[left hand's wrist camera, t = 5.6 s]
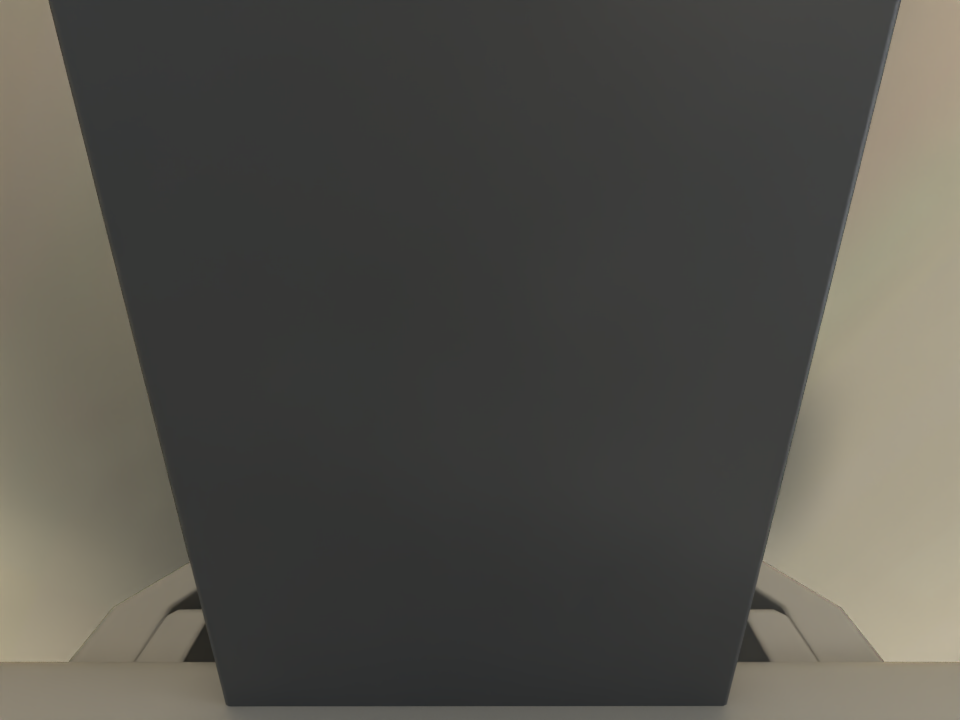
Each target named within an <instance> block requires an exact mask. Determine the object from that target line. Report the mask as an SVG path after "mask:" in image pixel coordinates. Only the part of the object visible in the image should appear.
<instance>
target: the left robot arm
mask: <svg viewBox="0 0 960 720" xmlns="http://www.w3.org/2000/svg"><path fill="white" fill-rule="evenodd" d="M0 720H960V662H884V661H883V659H882V658H881V657H880V656H879V654H878V653H877V652H876V651H875V649H874V648H873V647H872V646H871V644H870V643H869V642H868V641H867V639H866V638H865V637H864V636H863V634H862V633H861V632H860V631H859V629H858V628H857V627H856V626H855V624H854V623H853V622H852V620H851V619H850V618H849V617H848V615H847V614H846V613H845V612H844V610H843V609H842V608H841V607H839V606H837V605H836V604H834V603H832V602H831V601H829V600H827V599H826V598H824V597H822V596H821V595H819V594H817V593H816V592H814V591H812V590H810V589H809V588H807V587H805V586H804V585H802V584H800V583H799V582H797V581H795V580H794V579H792V578H790V577H789V576H787V575H785V574H784V573H782V572H780V571H779V570H777V569H775V568H774V567H772V566H770V565H768V564H767V563H765V562H763V561H762V564H761V568H760V572H759V576H758V580H757V584H756V588H755V592H754V596H753V600H752V604H751V608H750V612H749V616H748V620H747V624H746V628H745V633H744V637H743V641H742V645H741V649H740V653H739V657H738V661H737V665H736V669H735V673H734V677H733V681H732V685H731V689H730V693H729V697H728V701H727V704H726V705H724V706H232V707H230V706H227V705H226V703H225V699H224V695H223V691H222V687H221V684H220V680H219V676H218V672H217V668H216V664H215V660H214V656H213V652H212V648H211V644H210V640H209V636H208V632H207V628H206V624H205V620H204V616H203V612H202V608H201V604H200V600H199V596H198V592H197V588H196V584H195V580H194V576H193V572H192V568H191V564H190V562H189V563H187V564H186V565H184V566H182V567H181V568H179V569H177V570H176V571H174V572H172V573H170V574H169V575H167V576H165V577H164V578H162V579H160V580H159V581H157V582H155V583H153V584H152V585H150V586H148V587H147V588H145V589H143V590H142V591H140V592H138V593H136V594H135V595H133V596H131V597H130V598H128V599H126V600H125V601H123V602H121V603H119V604H118V605H116V606H114V607H113V608H112V609H111V610H110V612H109V613H108V614H107V615H106V617H105V618H104V619H103V620H102V621H101V623H100V624H99V625H98V626H97V628H96V629H95V630H94V631H93V633H92V634H91V635H90V636H89V637H88V639H87V640H86V641H85V642H84V644H83V645H82V646H81V647H80V648H79V650H78V651H77V652H76V653H75V655H74V656H73V657H72V658H71V660H70V661H69V662H0Z"/></svg>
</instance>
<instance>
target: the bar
mask: <svg viewBox="0 0 960 720" xmlns="http://www.w3.org/2000/svg"><path fill="white" fill-rule="evenodd" d="M900 2H901V0H49V4H50V8H51V12H52V16H53V20H54V24H55V28H56V32H57V36H58V40H59V44H60V48H61V52H62V56H63V60H64V64H65V68H66V72H67V76H68V80H69V84H70V88H71V92H72V96H73V100H74V104H75V108H76V112H77V115H78V119H79V123H80V127H81V131H82V135H83V139H84V143H85V147H86V151H87V155H88V159H89V163H90V167H91V171H92V175H93V179H94V183H95V187H96V191H97V195H98V199H99V203H100V207H101V211H102V215H103V219H104V223H105V227H106V231H107V235H108V239H109V243H110V247H111V251H112V255H113V258H114V262H115V266H116V270H117V274H118V278H119V282H120V286H121V290H122V294H123V298H124V302H125V306H126V310H127V314H128V318H129V322H130V326H131V330H132V334H133V338H134V342H135V346H136V350H137V354H138V358H139V362H140V366H141V370H142V374H143V378H144V382H145V386H146V390H147V394H148V398H149V401H150V405H151V409H152V413H153V417H154V421H155V425H156V429H157V433H158V437H159V441H160V445H161V449H162V453H163V457H164V461H165V465H166V469H167V473H168V477H169V481H170V485H171V489H172V493H173V497H174V501H175V505H176V509H177V513H178V517H179V521H180V525H181V529H182V533H183V537H184V541H185V544H186V548H187V552H188V556H189V560H190V564H191V568H192V572H193V576H194V580H195V584H196V588H197V592H198V596H199V600H200V604H201V608H202V612H203V616H204V620H205V624H206V628H207V632H208V636H209V640H210V644H211V648H212V652H213V656H214V660H215V664H216V668H217V672H218V676H219V680H220V684H221V687H222V691H223V695H224V699H225V703H226V705H227V706H230V707H232V706H724V705H726V704H727V701H728V697H729V693H730V689H731V685H732V681H733V677H734V673H735V669H736V665H737V661H738V657H739V653H740V649H741V645H742V641H743V637H744V633H745V628H746V624H747V620H748V616H749V612H750V608H751V604H752V600H753V596H754V592H755V588H756V584H757V580H758V576H759V572H760V568H761V564H762V560H763V556H764V552H765V548H766V544H767V540H768V536H769V532H770V527H771V523H772V519H773V515H774V511H775V507H776V503H777V499H778V495H779V491H780V487H781V483H782V479H783V475H784V471H785V467H786V463H787V459H788V455H789V451H790V447H791V443H792V439H793V435H794V431H795V426H796V422H797V418H798V414H799V410H800V406H801V402H802V398H803V394H804V390H805V386H806V382H807V378H808V374H809V370H810V366H811V362H812V358H813V354H814V350H815V346H816V342H817V338H818V334H819V330H820V325H821V321H822V317H823V313H824V309H825V305H826V301H827V297H828V293H829V289H830V285H831V281H832V277H833V273H834V269H835V265H836V261H837V257H838V253H839V249H840V245H841V241H842V237H843V233H844V229H845V224H846V220H847V216H848V212H849V208H850V204H851V200H852V196H853V192H854V188H855V184H856V180H857V176H858V172H859V168H860V164H861V160H862V156H863V152H864V148H865V144H866V140H867V136H868V132H869V128H870V124H871V119H872V115H873V111H874V107H875V103H876V99H877V95H878V91H879V87H880V83H881V79H882V75H883V71H884V67H885V63H886V59H887V55H888V51H889V47H890V43H891V39H892V35H893V31H894V27H895V23H896V18H897V14H898V10H899V6H900Z"/></svg>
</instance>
